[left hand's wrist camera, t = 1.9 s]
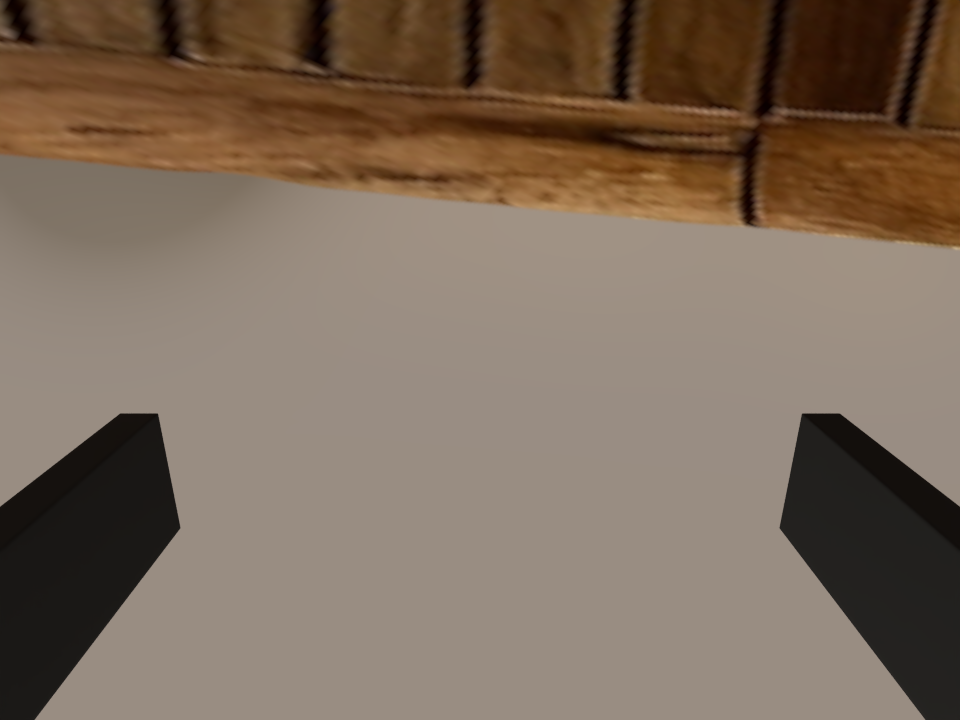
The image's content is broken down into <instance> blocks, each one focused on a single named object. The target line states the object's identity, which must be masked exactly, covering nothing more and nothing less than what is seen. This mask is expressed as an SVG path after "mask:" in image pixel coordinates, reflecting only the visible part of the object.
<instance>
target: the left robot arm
mask: <svg viewBox="0 0 960 720" xmlns="http://www.w3.org/2000/svg"><path fill="white" fill-rule="evenodd" d="M179 529H180V523H179V518H178V513H177V508H176V503H175V498H174V493H173V488H172V483H171V478H170V473H169V467H168V462H167V457H166V452H165V447H164V442H163V437H162V432H161V427H160V422H159V417H158V414H119V415H118V416H117V417H115V418H114V419H113V420H111V421H110V422H109V423H108V424H106V425H105V426H104V427H102V428H101V429H100V430H98V431H97V432H96V433H95V434H93V435H92V436H91V437H89V438H88V439H87V440H86V441H84V442H83V443H82V444H80V445H79V446H78V447H77V448H75V449H74V450H73V451H71V452H70V453H69V454H68V455H66V456H65V457H64V458H62V459H61V460H60V461H59V462H57V463H56V464H55V465H53V466H52V467H51V468H50V469H48V470H47V471H46V472H44V473H43V474H42V475H41V476H39V477H38V478H37V479H35V480H34V481H33V482H32V483H30V484H29V485H28V486H26V487H25V488H24V489H23V490H21V491H20V492H19V493H17V494H16V495H15V496H13V497H12V498H11V499H10V500H8V501H7V502H6V503H4V504H3V505H2V506H1V507H0V720H35V718H36V717H37V716H38V714H39V713H40V712H41V710H42V709H43V708H44V707H45V705H46V704H47V703H48V701H49V700H50V699H51V697H52V696H53V695H54V693H55V692H56V691H57V689H58V688H59V687H60V686H61V684H62V683H63V682H64V680H65V679H66V678H67V676H68V675H69V674H70V672H71V671H72V670H73V668H74V667H75V666H76V665H77V663H78V662H79V661H80V659H81V658H82V657H83V655H84V654H85V653H86V651H87V650H88V649H89V647H90V646H91V645H92V643H93V642H94V641H95V640H96V638H97V637H98V636H99V634H100V633H101V632H102V630H103V629H104V628H105V626H106V625H107V624H108V623H109V621H110V620H111V619H112V617H113V616H114V615H115V613H116V612H117V611H118V609H119V608H120V607H121V605H122V604H123V603H124V602H125V600H126V599H127V598H128V596H129V595H130V594H131V592H132V591H133V590H134V588H135V587H136V586H137V584H138V583H139V582H140V580H141V579H142V578H143V577H144V575H145V574H146V573H147V571H148V570H149V569H150V567H151V566H152V565H153V563H154V562H155V561H156V559H157V558H158V557H159V556H160V554H161V553H162V552H163V550H164V549H165V548H166V546H167V545H168V544H169V542H170V541H171V540H172V538H173V537H174V536H175V535H176V533H177V532H178V530H179ZM780 529H781V531H782V532H783V533H784V535H785V536H786V537H787V538H788V540H789V541H790V542H791V544H792V545H793V546H794V548H795V549H796V550H797V552H798V553H799V554H800V556H801V557H802V558H803V559H804V561H805V562H806V563H807V565H808V566H809V567H810V569H811V570H812V571H813V573H814V574H815V575H816V576H817V578H818V579H819V580H820V582H821V583H822V584H823V586H824V587H825V588H826V590H827V591H828V592H829V594H830V595H831V596H832V598H833V599H834V600H835V601H836V603H837V604H838V605H839V607H840V608H841V609H842V611H843V612H844V613H845V615H846V616H847V617H848V619H849V620H850V621H851V623H852V624H853V625H854V626H855V628H856V629H857V630H858V632H859V633H860V634H861V636H862V637H863V638H864V640H865V641H866V642H867V644H868V645H869V646H870V647H871V649H872V650H873V651H874V653H875V654H876V655H877V657H878V658H879V659H880V661H881V662H882V663H883V665H884V666H885V667H886V668H887V670H888V671H889V672H890V674H891V675H892V676H893V678H894V679H895V680H896V682H897V683H898V684H899V685H900V687H901V688H902V690H903V691H904V692H905V693H906V695H907V696H908V697H909V699H910V700H911V701H912V703H913V704H914V705H915V707H916V708H917V709H918V711H919V712H920V713H921V714H922V716H923V717H924V718H925V720H960V507H959V506H958V505H957V504H956V503H954V502H953V501H952V500H950V499H949V498H948V497H947V496H945V495H944V494H943V493H941V492H940V491H939V490H938V489H936V488H935V487H934V486H932V485H931V484H930V483H929V482H927V481H926V480H925V479H923V478H922V477H921V476H920V475H918V474H917V473H916V472H914V471H913V470H912V469H910V468H909V467H908V466H907V465H905V464H904V463H903V462H901V461H900V460H899V459H898V458H896V457H895V456H894V455H892V454H891V453H890V452H889V451H887V450H886V449H885V448H883V447H882V446H881V445H879V444H878V443H877V442H876V441H874V440H873V439H872V438H871V437H869V436H868V435H867V434H865V433H864V432H863V431H861V430H860V429H859V428H858V427H856V426H855V425H854V424H852V423H851V422H850V421H849V420H847V419H846V418H845V417H843V416H842V415H841V414H802V417H801V422H800V427H799V432H798V437H797V442H796V447H795V452H794V457H793V462H792V467H791V473H790V478H789V483H788V488H787V493H786V498H785V503H784V508H783V513H782V518H781V523H780Z"/></svg>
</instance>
